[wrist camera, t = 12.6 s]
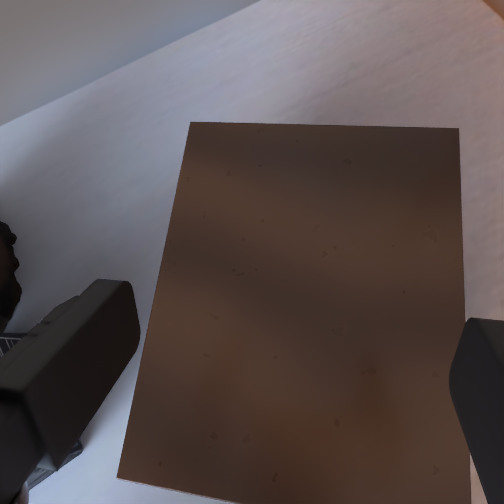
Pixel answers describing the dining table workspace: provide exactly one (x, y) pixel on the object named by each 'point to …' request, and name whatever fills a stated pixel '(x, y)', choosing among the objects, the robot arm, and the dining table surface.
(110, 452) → the dining table surface
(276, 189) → the lid
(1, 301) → the owl
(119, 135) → the dining table surface
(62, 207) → the dining table surface
